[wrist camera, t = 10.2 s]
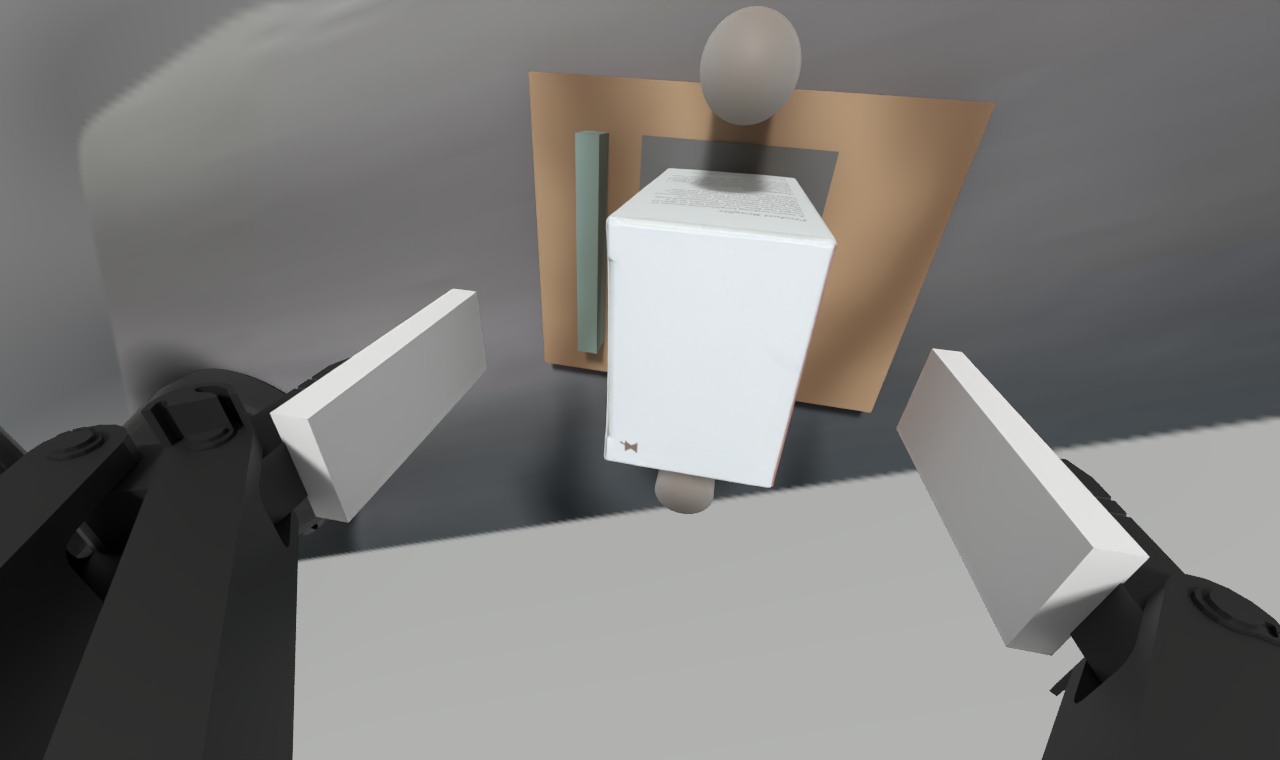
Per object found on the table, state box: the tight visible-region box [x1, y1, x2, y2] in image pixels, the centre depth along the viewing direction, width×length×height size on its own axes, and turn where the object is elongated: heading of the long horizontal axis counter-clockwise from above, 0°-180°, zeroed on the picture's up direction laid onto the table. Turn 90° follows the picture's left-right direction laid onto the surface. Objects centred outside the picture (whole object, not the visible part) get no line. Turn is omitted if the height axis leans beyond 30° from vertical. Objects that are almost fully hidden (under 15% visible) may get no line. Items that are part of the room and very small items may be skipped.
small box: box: [604, 168, 837, 488], centre depth 17 cm, size 8×6×10 cm
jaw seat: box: [529, 6, 996, 514], centre depth 19 cm, size 18×17×9 cm
